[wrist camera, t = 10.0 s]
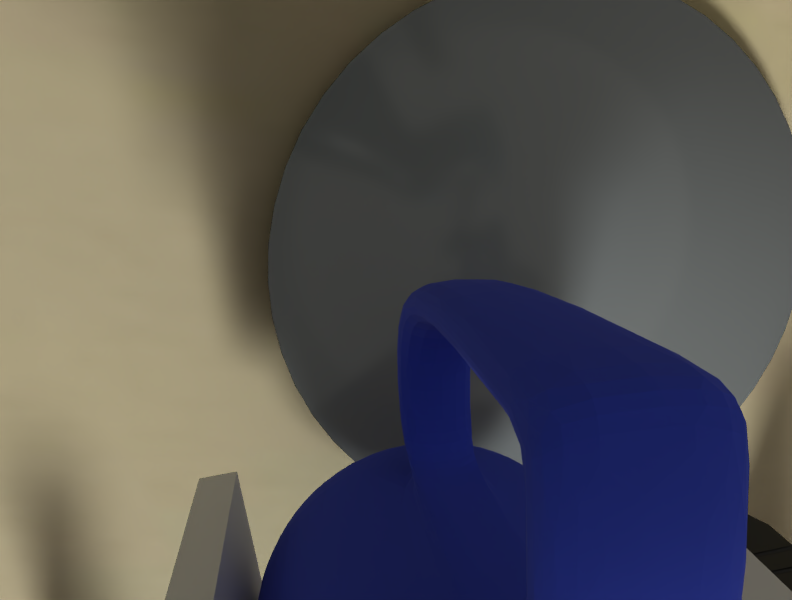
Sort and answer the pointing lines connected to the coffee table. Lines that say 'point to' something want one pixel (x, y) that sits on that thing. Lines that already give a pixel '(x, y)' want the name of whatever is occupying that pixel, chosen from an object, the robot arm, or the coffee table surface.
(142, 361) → the coffee table surface
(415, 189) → the grey round disc
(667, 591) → the mug
